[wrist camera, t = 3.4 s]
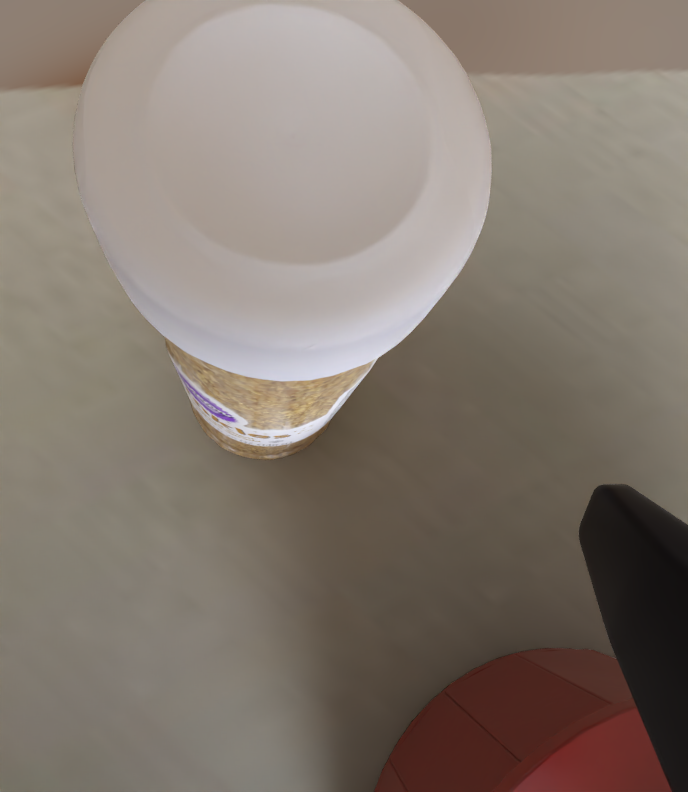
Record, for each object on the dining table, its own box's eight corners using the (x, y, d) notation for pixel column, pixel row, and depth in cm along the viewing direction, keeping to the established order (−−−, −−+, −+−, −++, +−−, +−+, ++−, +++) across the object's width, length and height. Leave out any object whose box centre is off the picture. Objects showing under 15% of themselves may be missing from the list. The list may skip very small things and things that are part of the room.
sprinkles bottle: (162, 419, 19) (-37, 202, 6) (235, 291, 20) (201, -132, 7) (300, 488, 19) (398, 424, 6) (365, 357, 20) (566, 66, 7)
